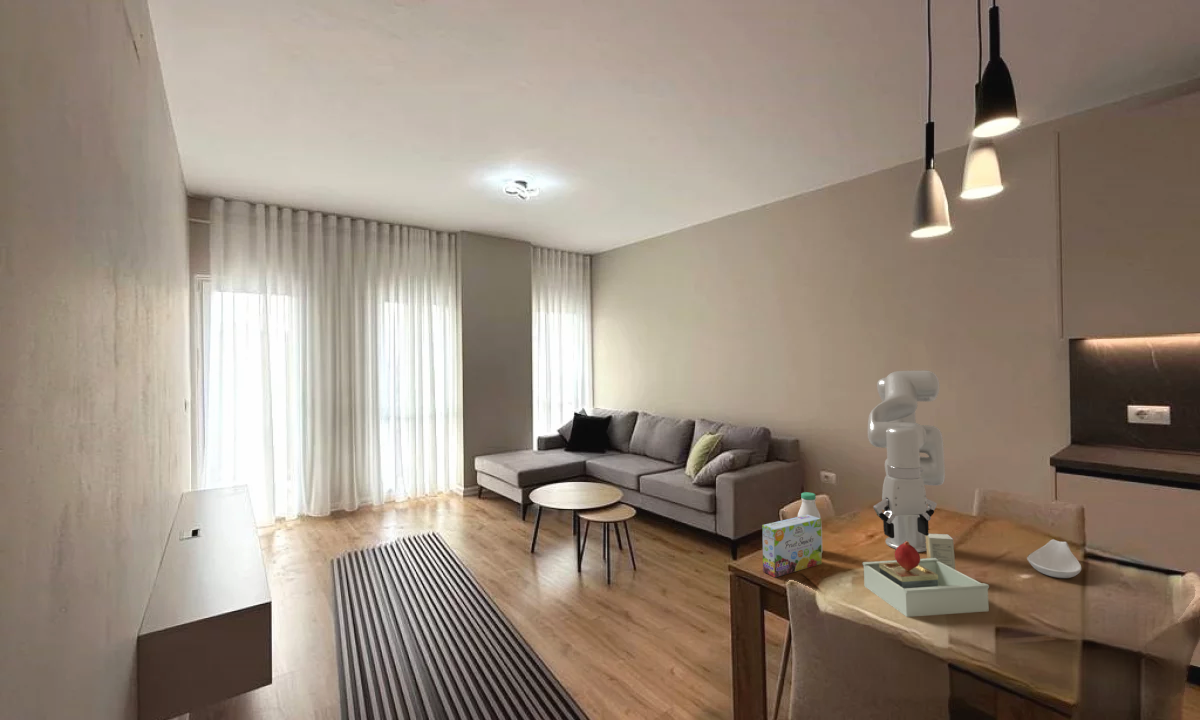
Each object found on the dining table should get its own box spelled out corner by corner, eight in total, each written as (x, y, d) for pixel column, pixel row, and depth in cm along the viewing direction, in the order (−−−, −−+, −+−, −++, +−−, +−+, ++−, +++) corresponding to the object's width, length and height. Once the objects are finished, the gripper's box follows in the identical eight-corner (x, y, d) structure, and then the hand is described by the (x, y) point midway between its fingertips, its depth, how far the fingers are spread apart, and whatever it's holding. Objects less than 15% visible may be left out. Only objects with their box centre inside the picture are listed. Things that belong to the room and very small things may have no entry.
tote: (936, 583, 139) (934, 557, 139) (990, 614, 121) (988, 585, 122) (863, 588, 138) (862, 562, 138) (907, 620, 120) (906, 590, 120)
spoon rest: (1080, 587, 135) (1079, 561, 135) (1024, 574, 144) (1023, 550, 144) (1086, 563, 151) (1085, 540, 151) (1036, 553, 159) (1035, 531, 159)
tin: (914, 590, 134) (913, 560, 134) (939, 605, 125) (938, 574, 125) (880, 592, 133) (879, 562, 133) (903, 608, 124) (901, 576, 124)
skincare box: (951, 574, 145) (949, 534, 145) (956, 581, 140) (954, 539, 141) (926, 572, 147) (924, 532, 147) (931, 578, 143) (929, 537, 143)
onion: (890, 566, 132) (888, 537, 132) (910, 565, 133) (908, 536, 133) (905, 575, 126) (903, 545, 126) (925, 574, 127) (924, 544, 127)
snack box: (776, 579, 145) (774, 529, 146) (762, 572, 150) (760, 524, 151) (823, 564, 155) (821, 517, 155) (808, 558, 160) (807, 513, 160)
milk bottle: (818, 547, 169) (815, 490, 169) (826, 556, 161) (823, 496, 162) (795, 547, 170) (793, 490, 170) (802, 555, 162) (800, 496, 162)
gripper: (923, 467, 134) (925, 527, 134) (864, 471, 133) (867, 532, 133) (944, 473, 127) (947, 537, 127) (882, 477, 126) (885, 542, 126)
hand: (906, 535), depth 130 cm, fingers open, 9 cm apart
